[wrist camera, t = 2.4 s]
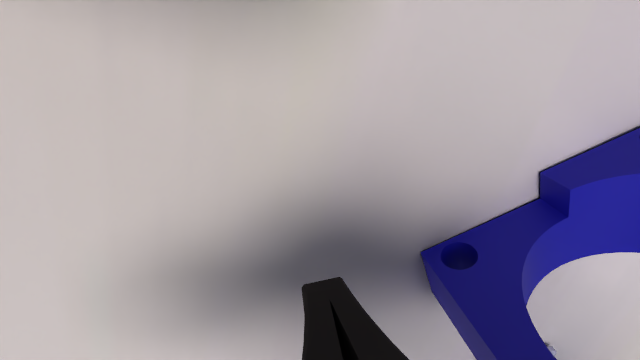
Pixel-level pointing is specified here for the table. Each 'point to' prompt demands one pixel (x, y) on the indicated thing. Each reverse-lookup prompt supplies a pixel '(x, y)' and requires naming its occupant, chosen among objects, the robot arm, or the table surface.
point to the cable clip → (536, 248)
